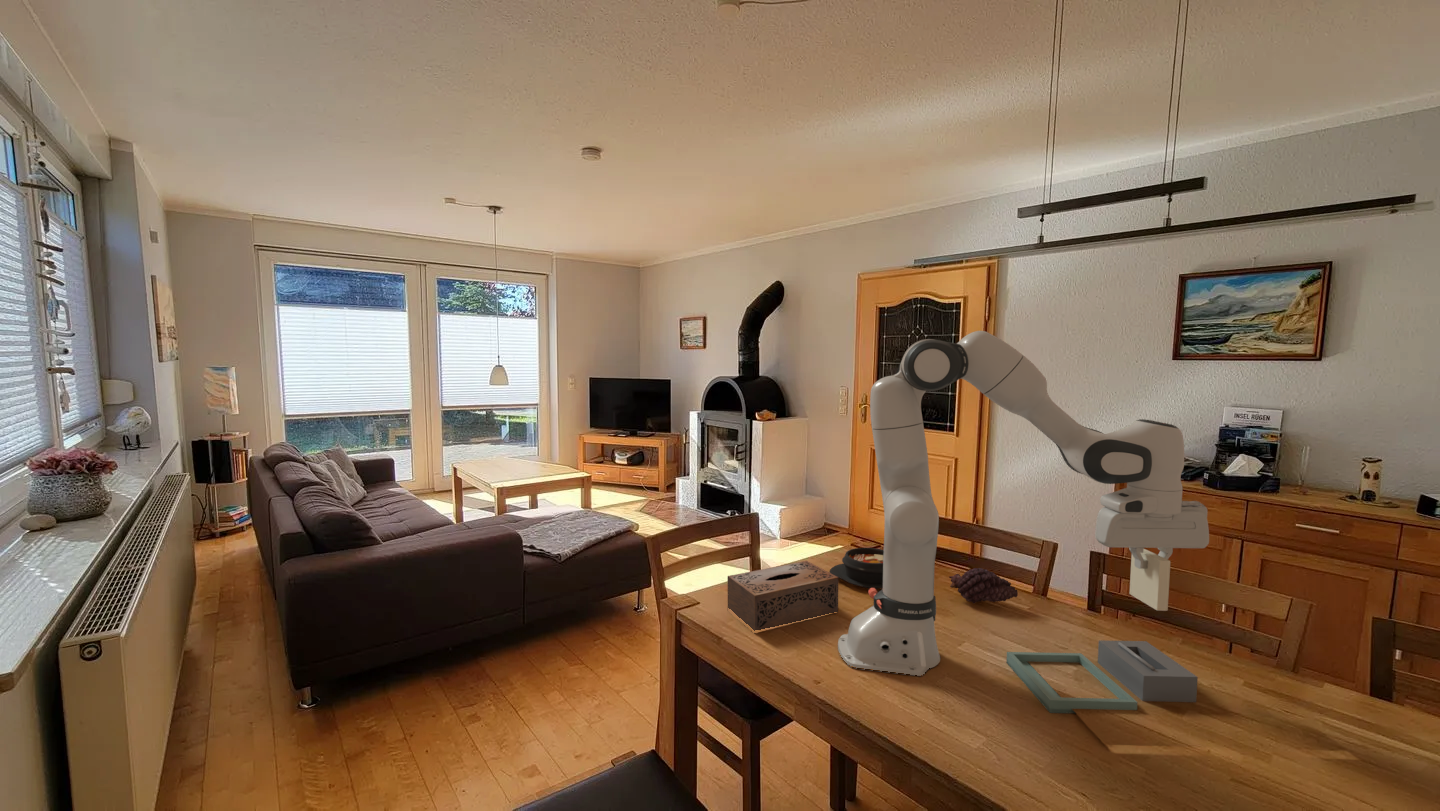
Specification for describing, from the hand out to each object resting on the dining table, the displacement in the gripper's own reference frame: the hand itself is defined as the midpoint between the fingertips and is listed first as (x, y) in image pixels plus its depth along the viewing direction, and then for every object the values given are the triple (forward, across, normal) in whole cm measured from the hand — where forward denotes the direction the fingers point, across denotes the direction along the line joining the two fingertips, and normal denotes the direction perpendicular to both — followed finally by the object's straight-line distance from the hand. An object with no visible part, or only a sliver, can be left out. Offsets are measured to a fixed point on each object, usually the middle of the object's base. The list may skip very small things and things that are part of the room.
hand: (1149, 567), depth 114 cm
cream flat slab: (+7, 0, 0) cm, 7 cm away
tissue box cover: (+26, +72, -32) cm, 83 cm away
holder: (+25, 0, 0) cm, 25 cm away
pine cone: (+25, +17, -39) cm, 49 cm away
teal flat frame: (+25, +16, +1) cm, 30 cm away
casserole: (+25, +44, -54) cm, 74 cm away
